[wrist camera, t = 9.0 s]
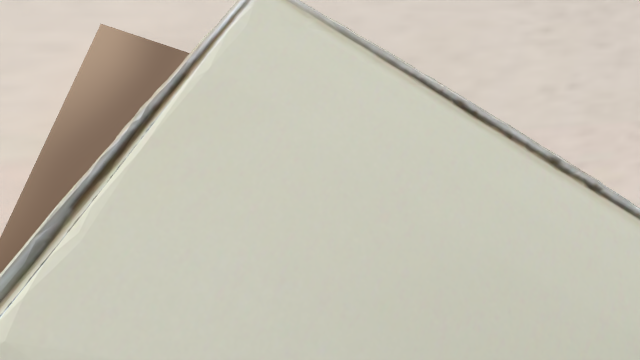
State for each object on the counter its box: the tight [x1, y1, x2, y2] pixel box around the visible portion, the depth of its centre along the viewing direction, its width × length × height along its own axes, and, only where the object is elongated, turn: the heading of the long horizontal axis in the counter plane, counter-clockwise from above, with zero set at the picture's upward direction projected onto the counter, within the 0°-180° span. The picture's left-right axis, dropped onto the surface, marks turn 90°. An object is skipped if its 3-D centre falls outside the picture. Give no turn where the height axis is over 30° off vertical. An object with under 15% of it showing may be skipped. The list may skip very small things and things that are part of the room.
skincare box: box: [0, 0, 640, 360], centre depth 9 cm, size 6×4×12 cm
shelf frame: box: [0, 24, 190, 273], centre depth 15 cm, size 18×15×3 cm
